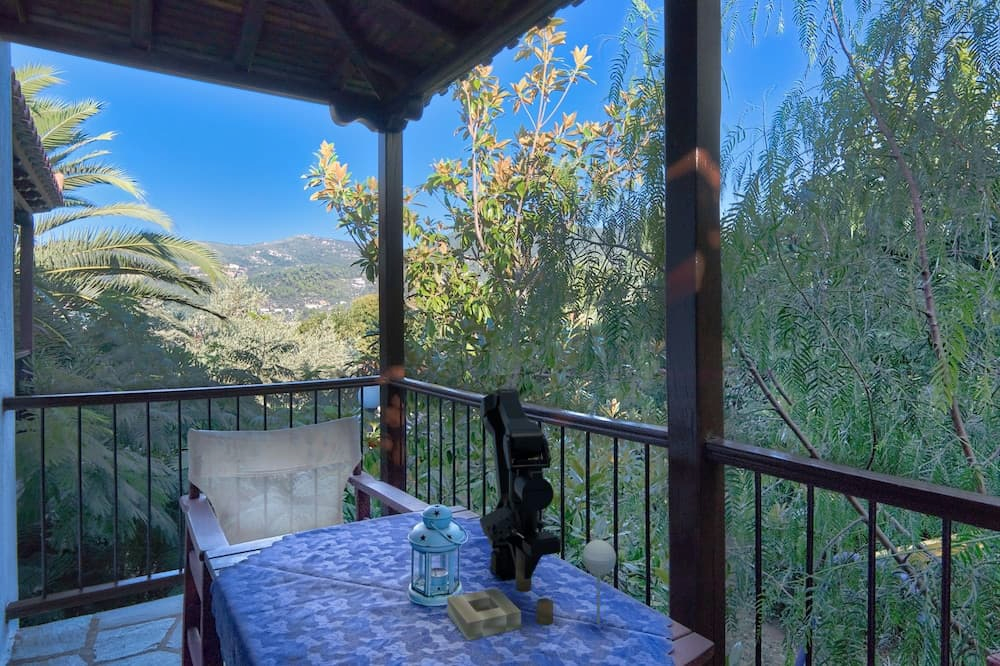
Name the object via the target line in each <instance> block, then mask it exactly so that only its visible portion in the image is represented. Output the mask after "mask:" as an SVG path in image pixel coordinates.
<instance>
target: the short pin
mask: <svg viewBox="0 0 1000 666" xmlns="http://www.w3.org/2000/svg"><path fill="white" fill-rule="evenodd" d="M535 607H536V613H535V614H536V615H535V616H536V618H535V619H536V623H537V624H538V625H539V626H551V625H553V624H554V601H553V600H552V599H551V598H545V597H543V598H542V597H541V598H538V599H537V600H536V606H535Z"/></svg>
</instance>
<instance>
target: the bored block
mask: <svg viewBox="0 0 1000 666" xmlns="http://www.w3.org/2000/svg"><path fill="white" fill-rule="evenodd" d="M446 603H447V604H446V606H447V607H446V614H447V615H448V617H449V618H450V620H451V619H452V620H451V621H452V622H453V624H454V625H455V626H456V628H457V627H458V628H457V629H458V630H459V632H460V633H461V634H462V635H463V637H464V639H465V640H466V641H467V642H468V641H472V640H477V639H481V638H485V637H489V636H494V635H497V634H498V635H499V634H503V633H506V632H511V631H517V630H519V629H522V611H521V610H520V609H519V608H518V607H517V606H516V605H515V604H514V602H512V601H511V600H510V599H509V598H508V597H507V596H506V595H505V593H503V592H502V591H501V590H500V589H499V588H498V587H496V588H495V587H494V588H490V589H486V590H485V589H484V590H480V591H474V592H470V593H464V594H460V595H459V594H458V595H454V596H450V597H447V600H446Z"/></svg>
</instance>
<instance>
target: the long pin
mask: <svg viewBox="0 0 1000 666" xmlns="http://www.w3.org/2000/svg"><path fill="white" fill-rule="evenodd" d="M520 545H522V544H520ZM515 590H516V591H517V592H520V593H527V592H531V590H532V577H531V578H530V579H525V578H524V571H523V562H522V553H521V552H520V551H519V550H518V549H517V548H516V578H515Z"/></svg>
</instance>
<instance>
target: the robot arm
mask: <svg viewBox="0 0 1000 666" xmlns="http://www.w3.org/2000/svg"><path fill="white" fill-rule="evenodd" d="M520 401H521V400H520V394H519V391H518V390H517V389H515V388H498V389H494V390H493V392H492V393H490V394H488V395H486V396H483V398H482V399H481V402H480V404H479V405H480V407H479V412H480V418H482V420H483V425H484V428H485V429H486V431H487V432H488V433H489V435H490V436H491V438H492V448H493V458H494V468H495V479H496V488H497V498H498V501H497V503H496V505H495V508H494V509H493V511H491V512H489V513H488V514H485V515H484V516H482V517H480V518H479V519H478V521H479V524H480V526H481V529H482V531H483V535H484V536H485V537H487V538H488V539H487V541H488V543H489V546H490V548H491V549H492V551H490V566H489V570H490V571H491V572H492V573H493V574H494V576H497V578H499V580H501V581H506V580H511V579H516V548H517V549H518V550H519V551H520V552H521V553H522V562H523V571H524V578H525V579H530V578H531V579H532V576H533V575H534V572H535V571H536V568H537V566H538V564H539V562H540V561H541V559H542V557H543V556H549V555H554V554H560V553H561V552H562V540H561V539H560V538H559V536H557V535H555V534H554V533H552V532H551V531H549V530H543V531H537V530H538V529H543V528H544V522H543V521H542V520H540V511H543V510H545V509H546V508H547V507H549V506H550V505H551V503H552V502H553V499H554V496H555V494H554V489H553V486H552V484H551V483H550V482H549V481H548V479H546V478H545V477H544V472H543V469H551V463H550V462H551V461H552V454H551V450H550V447H549V442H548V439H547V438H546V434H545V433H543V432H542V429H541V428H540V427H539V424H537V423H536V422H533V421H531V420H529V419H528V417H527V414H526V413H525V410H524V408H523V405H522V403H521V402H520ZM520 544H522V545H520Z"/></svg>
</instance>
